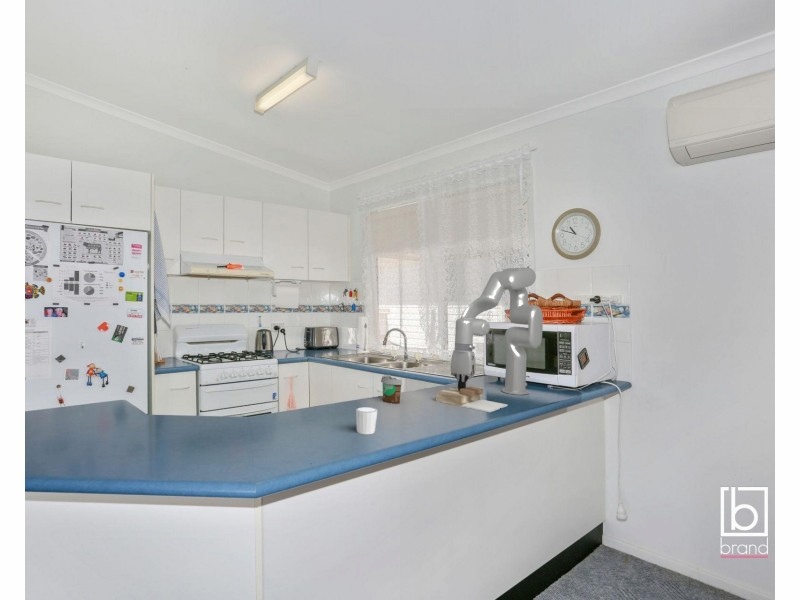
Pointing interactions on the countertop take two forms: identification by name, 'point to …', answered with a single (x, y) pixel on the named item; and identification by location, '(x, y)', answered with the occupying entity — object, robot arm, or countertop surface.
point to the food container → (391, 389)
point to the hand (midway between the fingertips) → (461, 390)
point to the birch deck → (454, 397)
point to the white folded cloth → (484, 405)
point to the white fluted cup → (366, 420)
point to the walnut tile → (471, 391)
